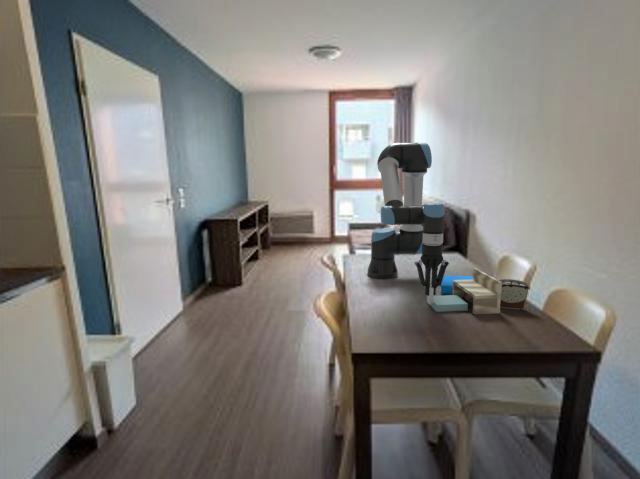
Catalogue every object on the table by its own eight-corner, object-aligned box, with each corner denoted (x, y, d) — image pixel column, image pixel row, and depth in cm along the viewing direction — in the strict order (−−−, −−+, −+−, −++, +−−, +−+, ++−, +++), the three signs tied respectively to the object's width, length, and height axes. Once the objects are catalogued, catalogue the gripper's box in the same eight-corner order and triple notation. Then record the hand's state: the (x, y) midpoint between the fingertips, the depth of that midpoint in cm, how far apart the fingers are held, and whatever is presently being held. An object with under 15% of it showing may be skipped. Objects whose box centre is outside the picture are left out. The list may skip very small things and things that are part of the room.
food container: (525, 304, 150) (527, 280, 148) (528, 310, 145) (530, 284, 143) (491, 301, 154) (493, 277, 152) (492, 306, 149) (494, 282, 147)
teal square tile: (427, 303, 154) (427, 296, 154) (456, 302, 155) (456, 295, 155) (436, 312, 145) (437, 305, 144) (467, 311, 146) (467, 303, 145)
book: (436, 275, 180) (492, 276, 176) (435, 283, 181) (492, 285, 177) (441, 286, 164) (503, 287, 159) (440, 295, 164) (503, 297, 160)
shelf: (452, 296, 161) (453, 269, 158) (474, 295, 161) (476, 268, 159) (474, 314, 141) (476, 283, 139) (499, 313, 142) (502, 282, 140)
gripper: (418, 246, 141) (416, 307, 145) (453, 245, 142) (450, 305, 146) (412, 242, 148) (410, 300, 153) (445, 241, 149) (442, 299, 154)
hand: (429, 303), depth 149 cm, fingers closed
